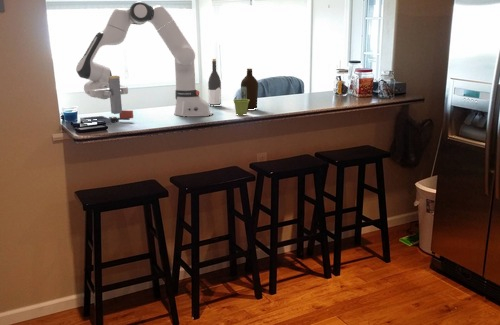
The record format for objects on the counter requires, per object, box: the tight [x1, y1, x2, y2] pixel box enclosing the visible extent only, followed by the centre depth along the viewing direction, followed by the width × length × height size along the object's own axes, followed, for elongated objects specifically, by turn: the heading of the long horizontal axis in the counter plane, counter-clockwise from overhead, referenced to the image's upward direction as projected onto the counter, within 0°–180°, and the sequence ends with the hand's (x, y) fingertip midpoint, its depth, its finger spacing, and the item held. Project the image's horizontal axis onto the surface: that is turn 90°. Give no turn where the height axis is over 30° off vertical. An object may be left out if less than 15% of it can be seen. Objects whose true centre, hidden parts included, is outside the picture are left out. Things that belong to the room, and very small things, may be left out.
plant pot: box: [233, 98, 250, 116], centre depth 282 cm, size 9×9×9 cm
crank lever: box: [108, 109, 134, 121], centre depth 260 cm, size 13×4×5 cm, turn 86°
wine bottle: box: [207, 58, 222, 105], centre depth 316 cm, size 8×8×30 cm
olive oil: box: [240, 68, 259, 109], centre depth 300 cm, size 11×11×25 cm
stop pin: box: [108, 75, 123, 115], centre depth 252 cm, size 4×4×19 cm
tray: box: [80, 115, 112, 125], centre depth 256 cm, size 12×12×2 cm
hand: (116, 92), depth 251 cm, fingers closed on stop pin, 4 cm apart
